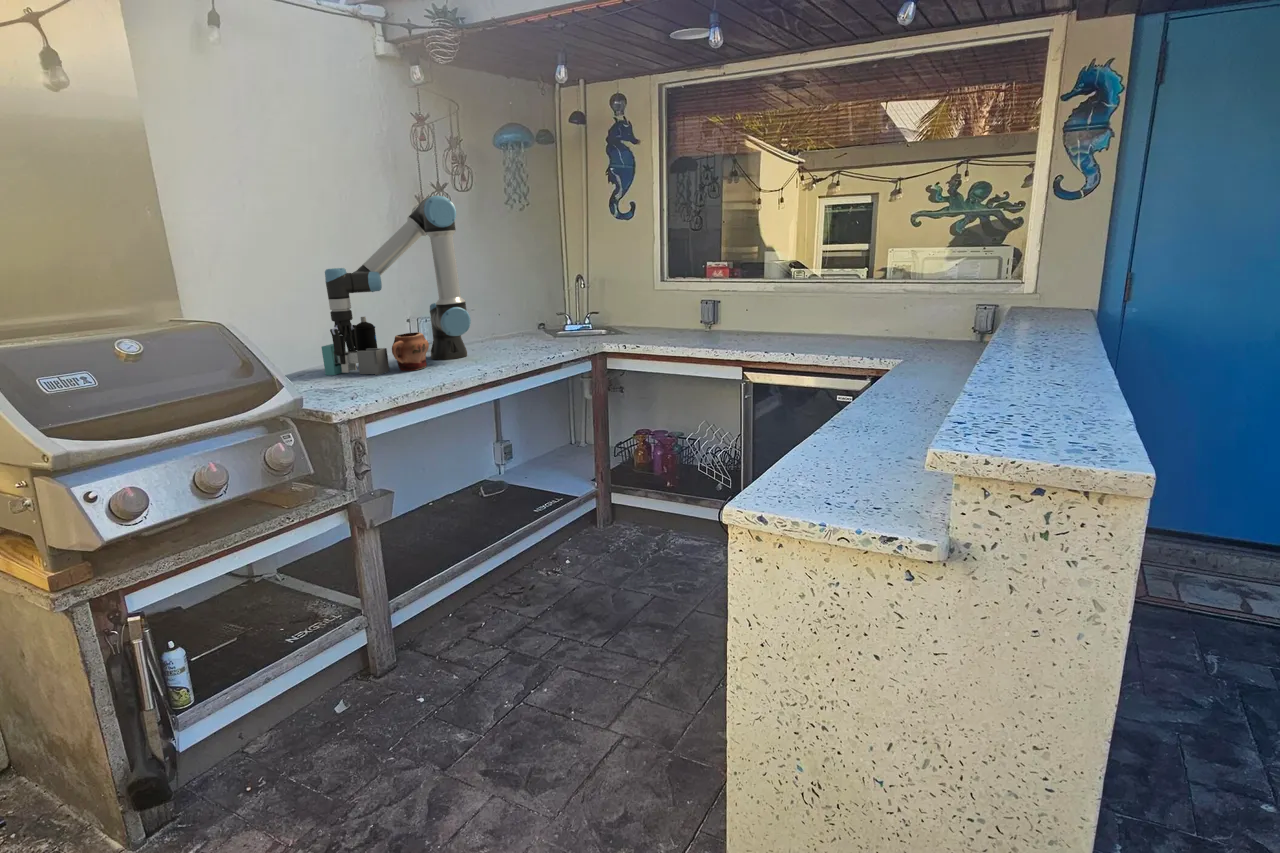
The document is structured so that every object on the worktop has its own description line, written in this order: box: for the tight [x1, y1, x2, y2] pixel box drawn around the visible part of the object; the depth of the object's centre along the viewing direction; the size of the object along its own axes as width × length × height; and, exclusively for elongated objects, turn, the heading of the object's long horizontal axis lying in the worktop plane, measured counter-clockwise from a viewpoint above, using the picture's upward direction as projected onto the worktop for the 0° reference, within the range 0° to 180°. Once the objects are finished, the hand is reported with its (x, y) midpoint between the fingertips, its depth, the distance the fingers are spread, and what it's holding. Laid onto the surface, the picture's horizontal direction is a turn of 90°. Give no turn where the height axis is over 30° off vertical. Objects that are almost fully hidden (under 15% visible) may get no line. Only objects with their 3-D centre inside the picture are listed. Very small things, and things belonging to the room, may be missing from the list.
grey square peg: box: [333, 350, 358, 364], centre depth 278 cm, size 14×5×5 cm, turn 78°
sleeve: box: [356, 347, 390, 376], centre depth 277 cm, size 8×7×9 cm
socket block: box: [321, 343, 343, 376], centre depth 280 cm, size 4×8×11 cm, turn 168°
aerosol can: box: [355, 316, 378, 351], centre depth 292 cm, size 8×8×20 cm
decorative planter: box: [391, 332, 430, 372], centre depth 281 cm, size 20×12×14 cm, turn 167°
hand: (349, 371), depth 280 cm, fingers closed on grey square peg, 4 cm apart
